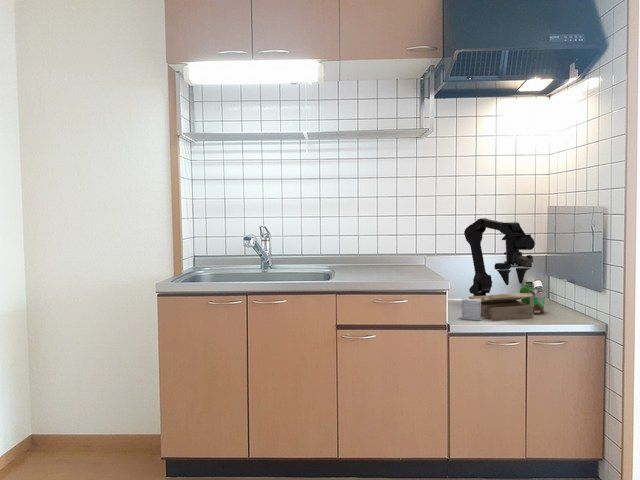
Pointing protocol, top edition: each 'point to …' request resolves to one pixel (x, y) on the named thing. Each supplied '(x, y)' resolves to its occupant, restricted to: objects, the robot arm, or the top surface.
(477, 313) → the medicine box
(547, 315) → the top surface
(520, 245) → the robot arm
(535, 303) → the food container
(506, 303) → the floor platform
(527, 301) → the bell pepper
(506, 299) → the pale plank
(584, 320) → the top surface
